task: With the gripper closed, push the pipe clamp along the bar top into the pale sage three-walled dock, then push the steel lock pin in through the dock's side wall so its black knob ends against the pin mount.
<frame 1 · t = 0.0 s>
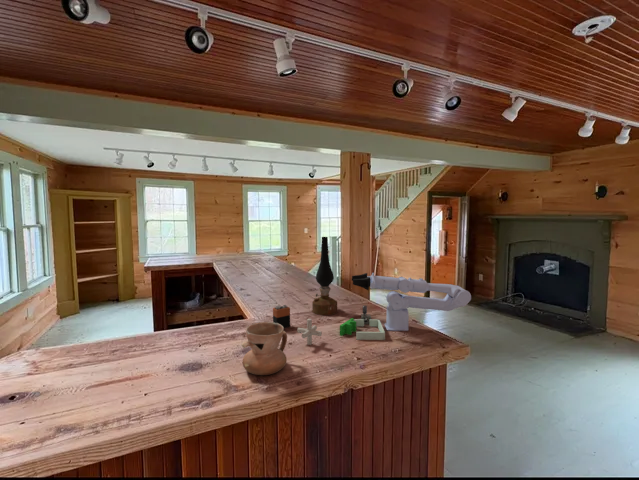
hand: (352, 280, 143), 22 cm above the counter, tool horizontal, fingers open, 7 cm apart
lock pin: (365, 313, 153), point 4 cm above the counter, slide at 3.2 cm
ceramic jug: (266, 368, 108), on the counter
pipe connector: (309, 344, 127), on the counter
battery: (281, 327, 146), on the counter
pin mount: (365, 323, 150), on the counter
oil lamp: (324, 311, 169), on the counter
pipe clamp: (349, 332, 139), on the counter
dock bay: (368, 332, 139), on the counter
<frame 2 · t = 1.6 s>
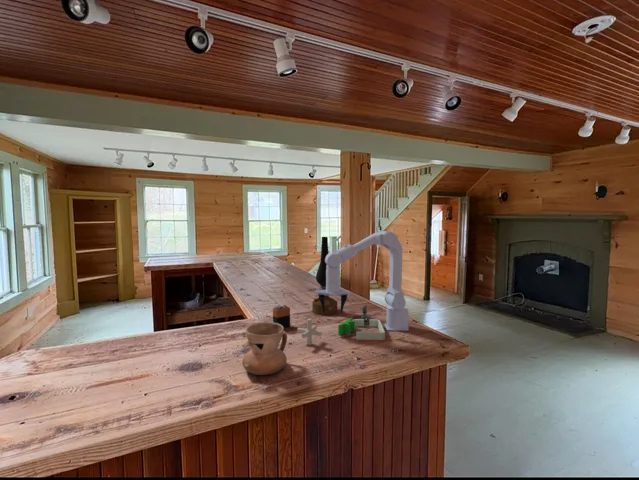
hand: (332, 311, 139), 9 cm above the counter, tool pointing down, fingers open, 7 cm apart
nothing on the counter moved.
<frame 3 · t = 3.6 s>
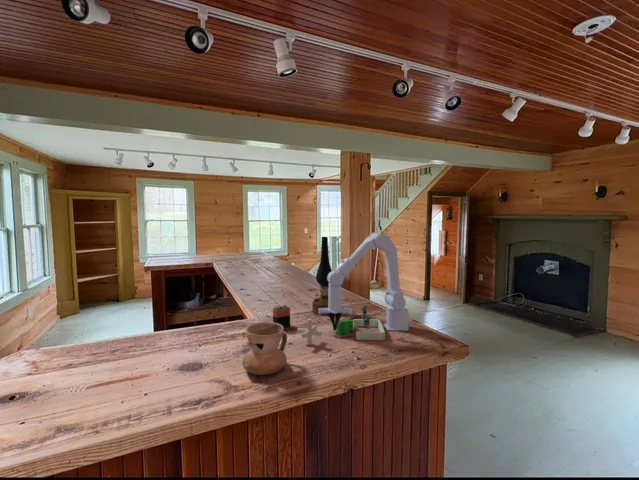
hand: (334, 329, 140), 1 cm above the counter, tool pointing down, fingers closed
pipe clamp: (346, 331, 140), on the counter, touching gripper
everything else where it was.
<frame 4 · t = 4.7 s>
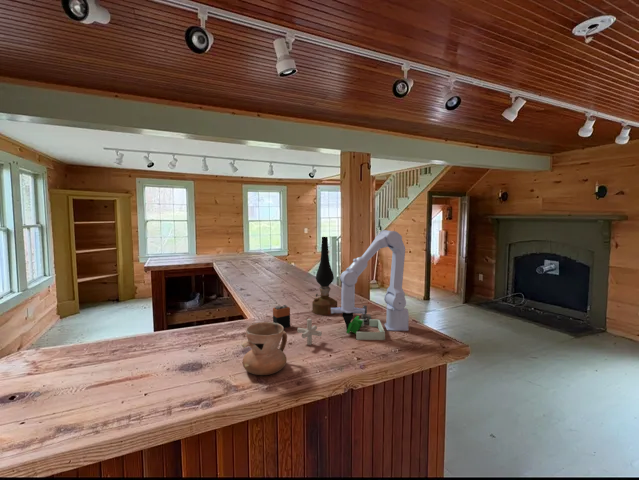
hand: (347, 329, 139), 1 cm above the counter, tool pointing down, fingers closed, pressing on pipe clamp
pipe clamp: (353, 330, 140), on the counter, touching gripper
everything else where it was.
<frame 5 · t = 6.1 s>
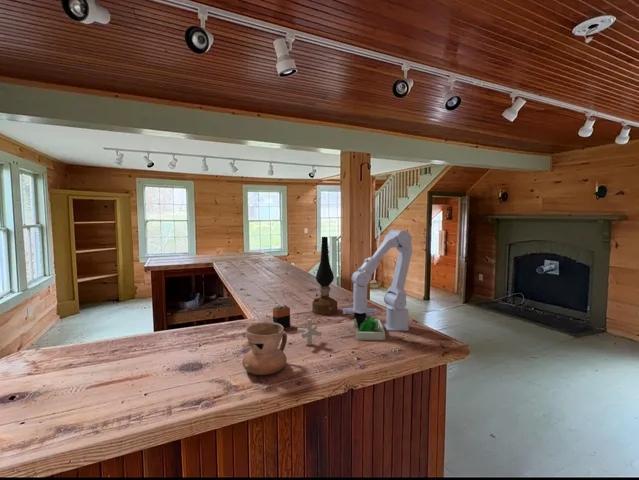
hand: (359, 329, 139), 1 cm above the counter, tool pointing down, fingers closed
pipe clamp: (366, 331, 139), on the counter, touching gripper
everything else where it was.
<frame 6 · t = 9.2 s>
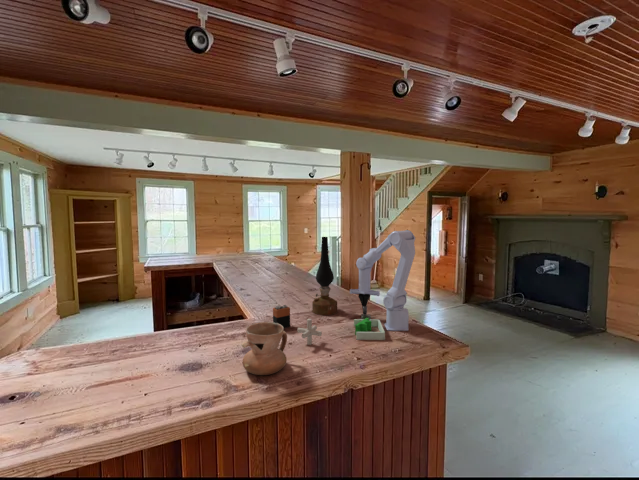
hand: (364, 308, 158), 4 cm above the counter, tool pointing down, fingers closed
lock pin: (365, 313, 152), point 4 cm above the counter, slide at 2.6 cm, touching gripper
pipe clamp: (364, 332, 140), on the counter
everything else where it was.
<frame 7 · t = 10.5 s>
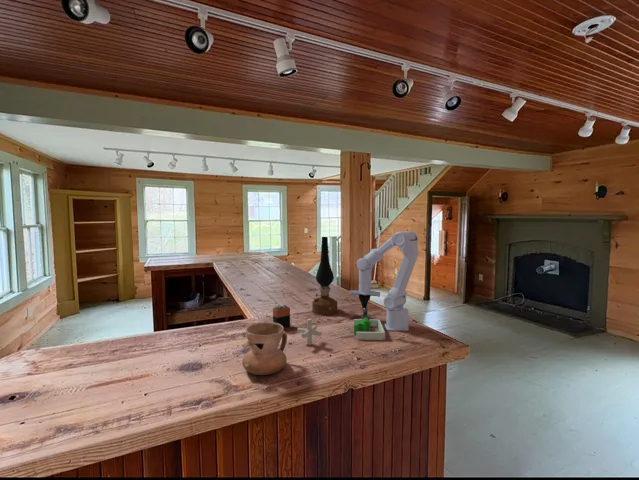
hand: (364, 310, 156), 4 cm above the counter, tool pointing down, fingers closed
lock pin: (366, 315, 149), point 4 cm above the counter, slide at 0.0 cm
everything else where it was.
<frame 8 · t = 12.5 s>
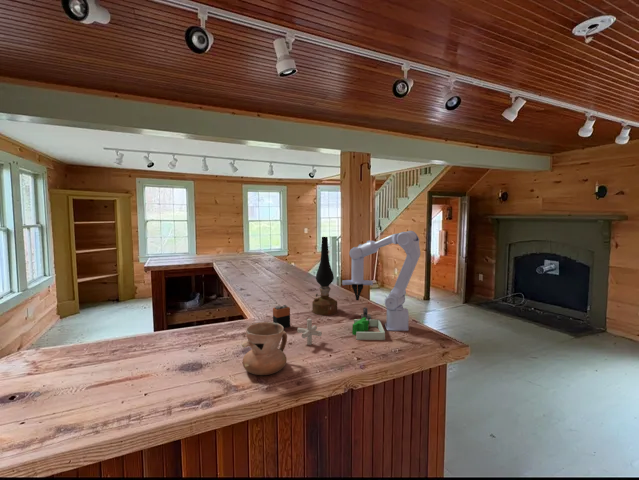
hand: (357, 299, 154), 10 cm above the counter, tool pointing down, fingers closed
at the end: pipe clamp inside the target area on the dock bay (2.9 cm from its centre), point 0.0 cm above the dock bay's base; lock pin slide at 0.0 cm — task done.
